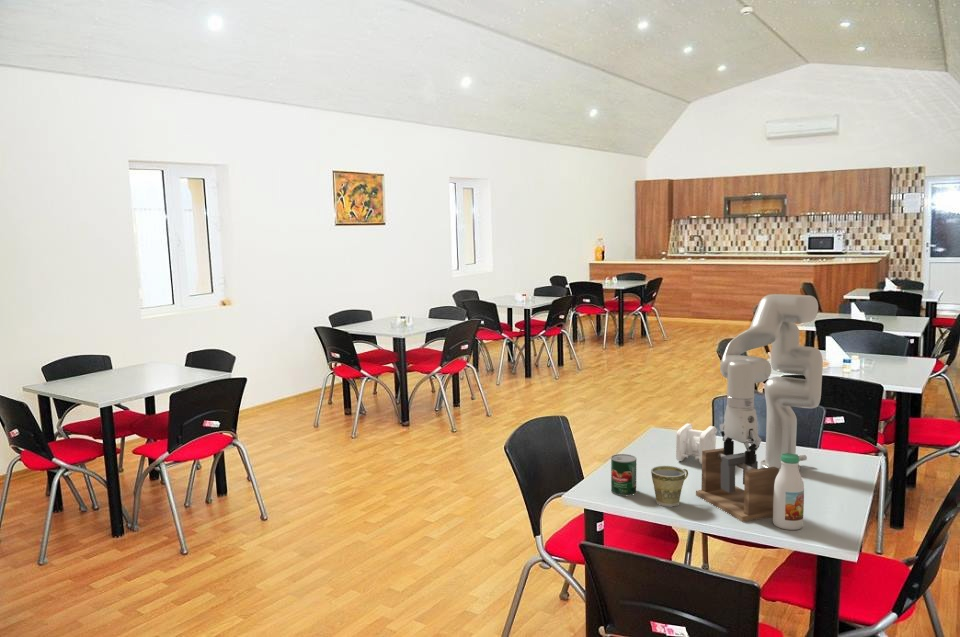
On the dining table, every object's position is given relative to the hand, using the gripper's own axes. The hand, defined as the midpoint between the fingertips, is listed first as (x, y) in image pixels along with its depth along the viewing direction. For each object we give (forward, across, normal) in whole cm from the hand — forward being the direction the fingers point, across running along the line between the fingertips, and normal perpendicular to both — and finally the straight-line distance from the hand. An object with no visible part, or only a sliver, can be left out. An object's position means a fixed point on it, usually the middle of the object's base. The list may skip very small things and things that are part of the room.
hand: (739, 459), depth 214 cm
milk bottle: (+14, -17, -3) cm, 23 cm away
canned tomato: (+14, +22, +26) cm, 37 cm away
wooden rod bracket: (+14, 0, 0) cm, 14 cm away
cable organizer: (+14, +41, -14) cm, 46 cm away
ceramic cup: (+14, +9, +17) cm, 24 cm away
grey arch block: (+9, 0, 0) cm, 9 cm away
